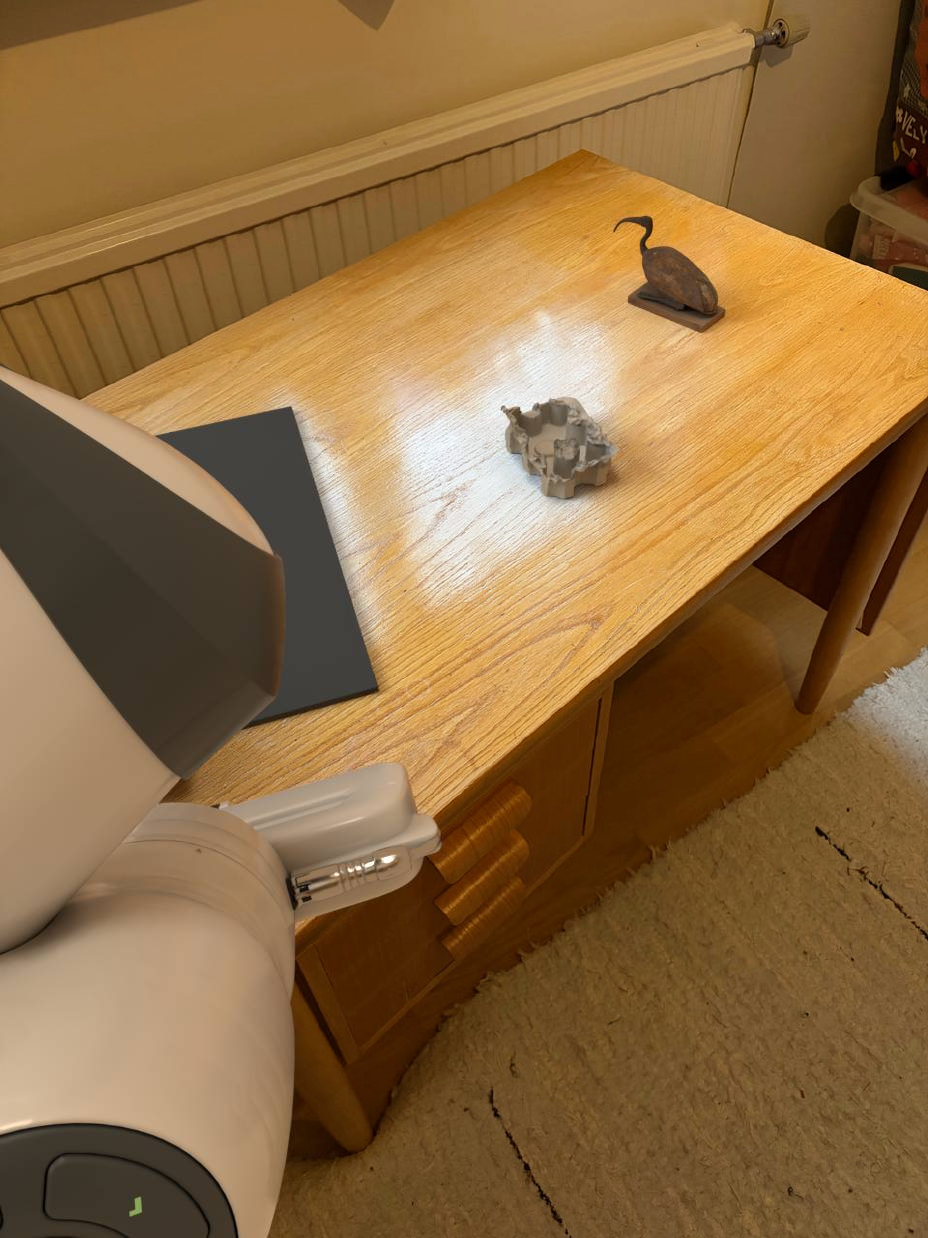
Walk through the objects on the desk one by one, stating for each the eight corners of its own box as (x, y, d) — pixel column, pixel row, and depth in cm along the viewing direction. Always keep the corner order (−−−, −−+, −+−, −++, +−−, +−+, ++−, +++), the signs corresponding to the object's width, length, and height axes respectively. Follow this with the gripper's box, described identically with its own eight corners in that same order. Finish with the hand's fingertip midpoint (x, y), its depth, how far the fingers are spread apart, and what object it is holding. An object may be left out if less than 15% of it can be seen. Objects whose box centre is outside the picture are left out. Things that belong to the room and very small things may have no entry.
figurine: (596, 289, 99) (602, 213, 93) (619, 273, 101) (627, 198, 95) (702, 333, 93) (717, 255, 86) (725, 315, 95) (741, 237, 88)
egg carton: (496, 438, 83) (495, 402, 80) (566, 417, 85) (568, 381, 82) (546, 507, 77) (547, 471, 74) (621, 482, 79) (626, 446, 75)
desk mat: (103, 767, 62) (100, 762, 61) (86, 455, 84) (84, 450, 83) (379, 691, 65) (378, 686, 64) (292, 410, 87) (291, 405, 87)
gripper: (430, 769, 32) (390, 708, 46) (-169, 944, 29) (-20, 822, 42) (470, 928, 33) (419, 821, 46) (-110, 1118, 29) (18, 943, 43)
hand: (207, 823), depth 44 cm, fingers closed
